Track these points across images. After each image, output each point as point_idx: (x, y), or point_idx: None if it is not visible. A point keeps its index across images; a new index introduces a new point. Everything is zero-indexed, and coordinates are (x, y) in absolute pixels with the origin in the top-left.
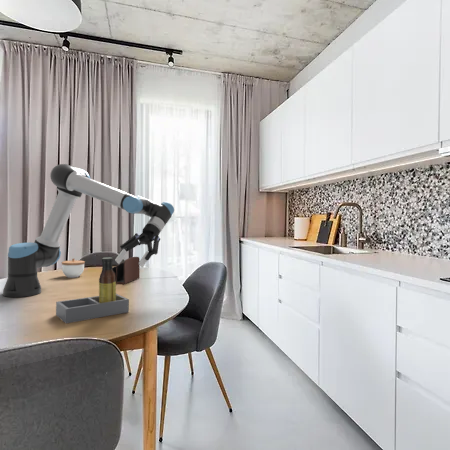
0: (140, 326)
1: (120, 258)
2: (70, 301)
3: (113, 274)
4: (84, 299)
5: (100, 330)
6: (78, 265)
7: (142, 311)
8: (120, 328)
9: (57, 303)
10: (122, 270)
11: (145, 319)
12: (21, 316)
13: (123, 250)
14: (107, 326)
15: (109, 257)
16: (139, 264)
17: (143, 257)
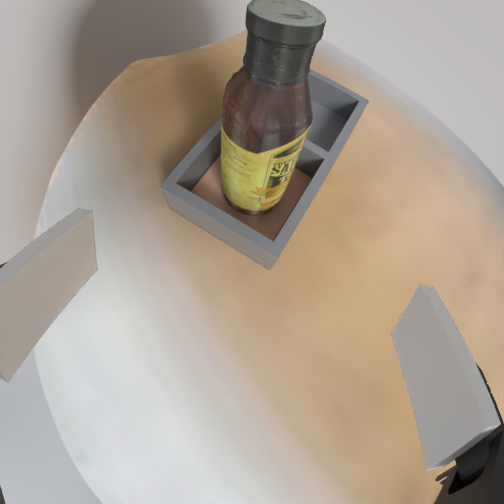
0: (91, 122)
1: (419, 347)
2: (348, 119)
3: (227, 88)
4: (332, 147)
5: (170, 76)
6: None
7: (126, 234)
8: (131, 97)
9: (356, 95)
10: None
11: (91, 167)
12: (404, 109)
13: (474, 403)
14: (167, 94)
15: (293, 20)
16: (93, 232)
17: (28, 246)
